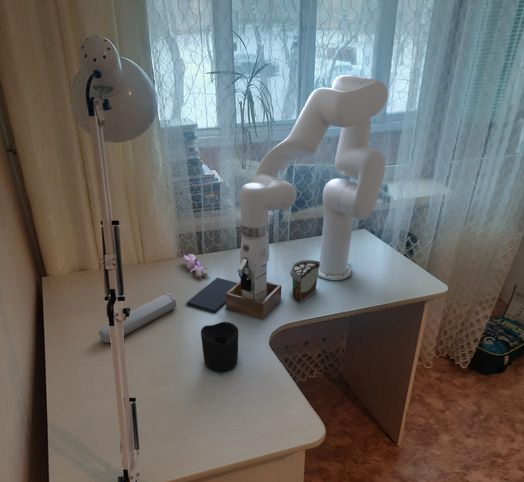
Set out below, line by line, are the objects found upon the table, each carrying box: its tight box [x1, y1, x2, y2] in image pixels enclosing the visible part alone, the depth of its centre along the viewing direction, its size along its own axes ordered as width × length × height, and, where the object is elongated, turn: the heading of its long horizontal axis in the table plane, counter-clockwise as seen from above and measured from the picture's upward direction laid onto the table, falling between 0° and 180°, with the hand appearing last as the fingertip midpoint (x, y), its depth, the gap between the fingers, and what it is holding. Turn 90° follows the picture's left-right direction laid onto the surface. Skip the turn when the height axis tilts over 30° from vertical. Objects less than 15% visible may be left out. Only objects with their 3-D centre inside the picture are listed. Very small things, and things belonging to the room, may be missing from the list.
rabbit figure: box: [182, 253, 209, 281], centre depth 169 cm, size 6×6×15 cm
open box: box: [225, 280, 282, 320], centre depth 152 cm, size 13×13×5 cm
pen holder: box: [200, 321, 239, 373], centre depth 127 cm, size 9×9×10 cm
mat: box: [186, 277, 238, 314], centre depth 158 cm, size 18×10×1 cm, turn 153°
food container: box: [289, 259, 320, 304], centre depth 157 cm, size 12×6×10 cm, turn 145°
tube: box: [98, 291, 177, 344], centre depth 142 cm, size 5×5×25 cm
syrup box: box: [241, 261, 268, 302], centre depth 149 cm, size 6×6×14 cm
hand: (253, 283), depth 149 cm, fingers open, 9 cm apart
